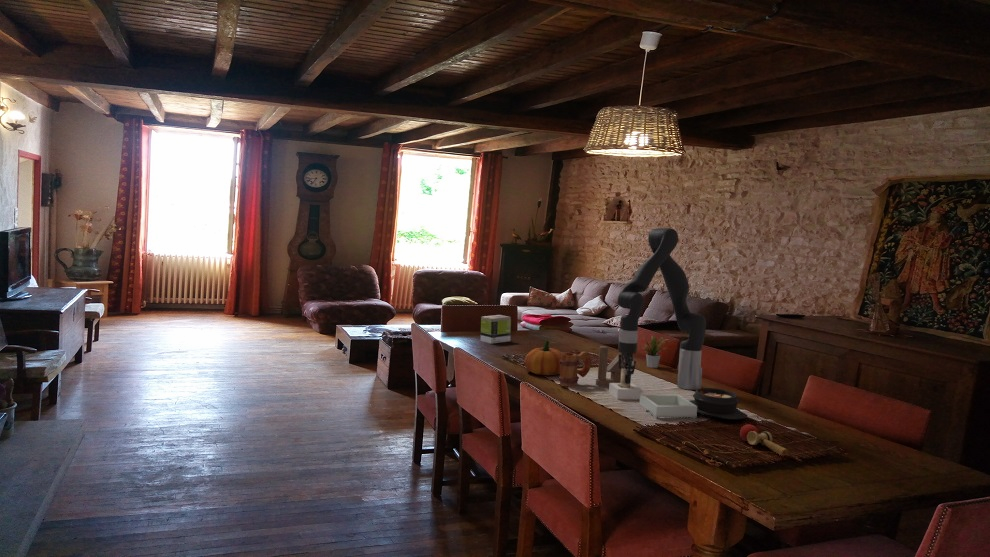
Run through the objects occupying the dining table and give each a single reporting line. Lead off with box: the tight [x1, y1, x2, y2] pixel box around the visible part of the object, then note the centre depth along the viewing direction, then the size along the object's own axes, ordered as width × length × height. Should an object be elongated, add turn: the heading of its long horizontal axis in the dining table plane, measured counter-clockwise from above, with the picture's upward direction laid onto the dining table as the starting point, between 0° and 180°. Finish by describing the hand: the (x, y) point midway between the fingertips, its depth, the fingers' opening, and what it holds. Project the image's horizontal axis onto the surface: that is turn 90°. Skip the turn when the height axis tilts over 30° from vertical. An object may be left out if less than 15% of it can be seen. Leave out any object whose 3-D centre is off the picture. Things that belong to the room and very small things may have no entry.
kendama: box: [739, 423, 789, 457], centre depth 211 cm, size 8×6×18 cm
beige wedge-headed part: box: [595, 345, 621, 388], centre depth 280 cm, size 4×11×18 cm, turn 111°
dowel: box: [620, 368, 630, 388], centre depth 264 cm, size 4×4×11 cm
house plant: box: [642, 334, 670, 369], centre depth 325 cm, size 14×14×16 cm
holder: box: [608, 382, 642, 400], centre depth 264 cm, size 10×10×5 cm
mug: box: [557, 350, 592, 388], centre depth 280 cm, size 15×8×15 cm, turn 105°
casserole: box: [688, 387, 748, 420], centre depth 247 cm, size 25×19×8 cm
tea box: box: [480, 314, 512, 345], centre depth 375 cm, size 15×10×15 cm, turn 130°
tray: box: [639, 394, 698, 419], centre depth 247 cm, size 16×16×4 cm
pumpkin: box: [524, 340, 563, 376], centre depth 302 cm, size 19×19×15 cm
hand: (625, 381), depth 264 cm, fingers closed on dowel, 4 cm apart
